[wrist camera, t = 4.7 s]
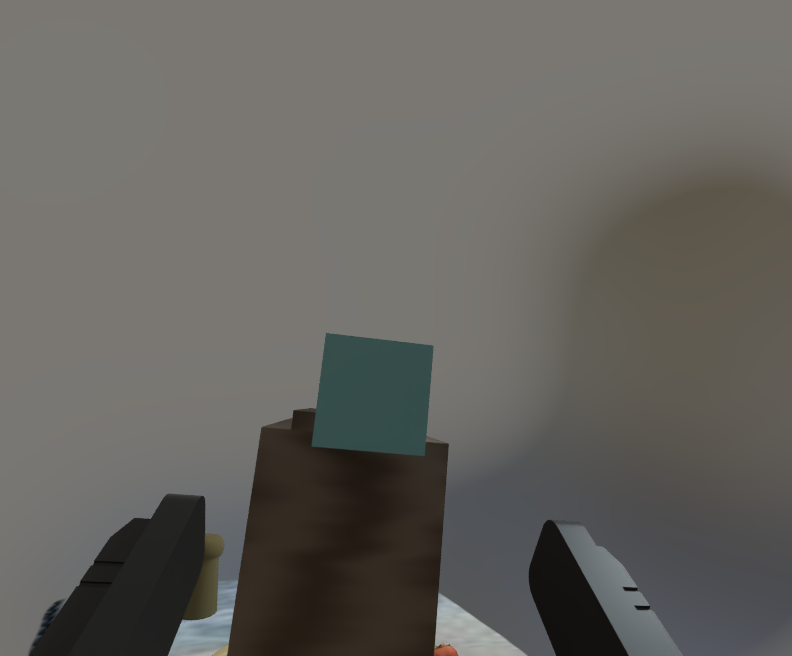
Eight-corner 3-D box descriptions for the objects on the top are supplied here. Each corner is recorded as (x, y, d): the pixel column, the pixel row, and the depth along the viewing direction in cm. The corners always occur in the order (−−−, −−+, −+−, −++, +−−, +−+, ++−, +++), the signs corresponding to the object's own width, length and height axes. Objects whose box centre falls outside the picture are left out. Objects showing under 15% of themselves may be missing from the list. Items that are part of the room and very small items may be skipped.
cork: (220, 602, 71) (231, 530, 73) (212, 620, 65) (225, 542, 67) (181, 601, 70) (193, 529, 72) (169, 619, 64) (183, 540, 66)
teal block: (370, 425, 39) (375, 380, 39) (424, 456, 15) (433, 345, 16) (326, 421, 38) (331, 376, 39) (311, 446, 15) (326, 333, 16)
